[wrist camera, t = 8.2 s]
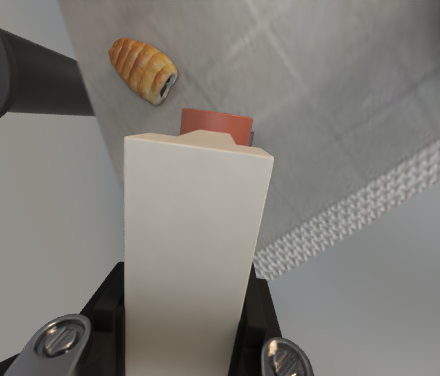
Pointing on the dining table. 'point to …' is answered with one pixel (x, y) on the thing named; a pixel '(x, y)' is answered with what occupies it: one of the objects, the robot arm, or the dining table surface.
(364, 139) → the dining table surface
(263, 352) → the robot arm
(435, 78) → the dining table surface
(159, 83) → the pastry
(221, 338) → the over-ear headset
